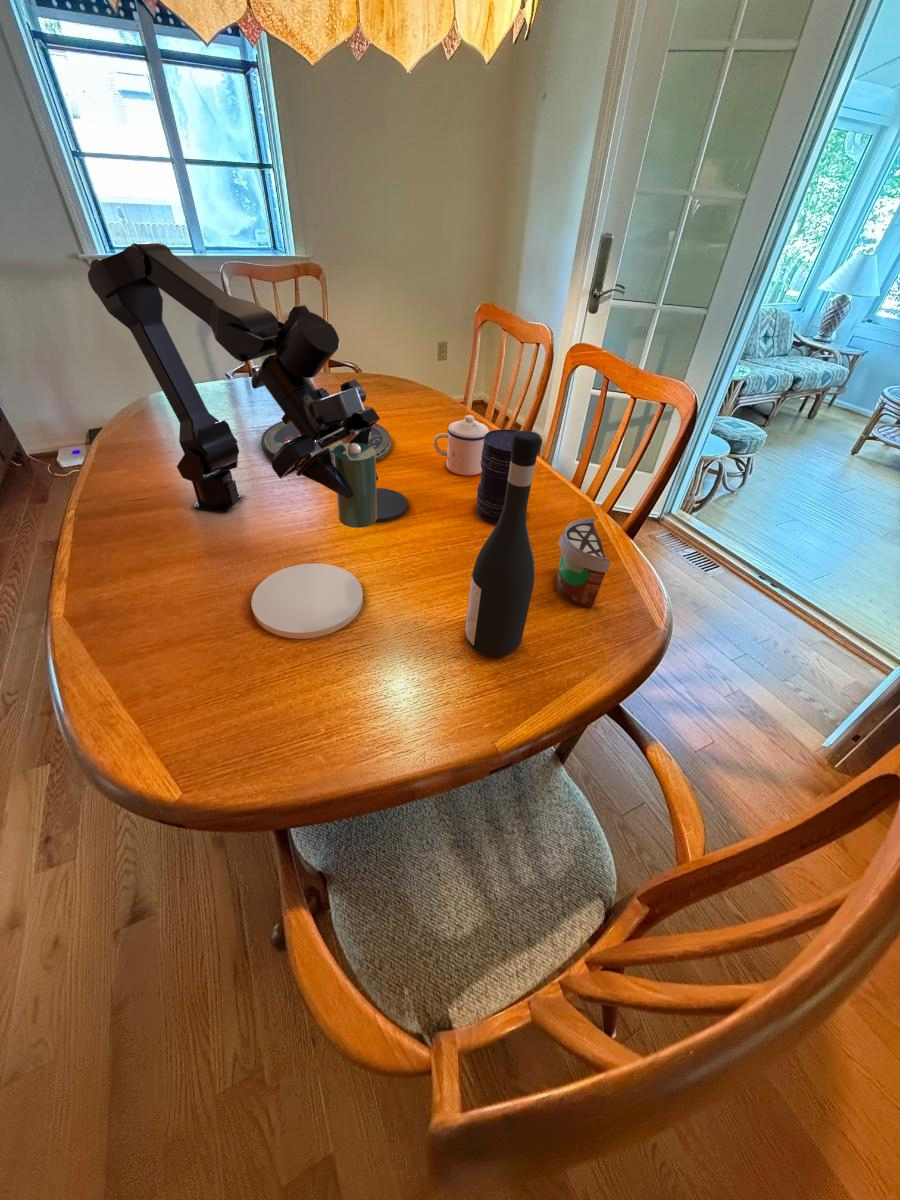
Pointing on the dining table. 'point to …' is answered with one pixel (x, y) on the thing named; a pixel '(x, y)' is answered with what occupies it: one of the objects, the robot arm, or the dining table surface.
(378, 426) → the decorative plate
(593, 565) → the food container
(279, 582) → the saucer plate
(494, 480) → the storage jar
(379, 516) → the coaster
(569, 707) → the dining table surface
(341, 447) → the canister
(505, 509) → the wine bottle
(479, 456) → the teacup with lid
